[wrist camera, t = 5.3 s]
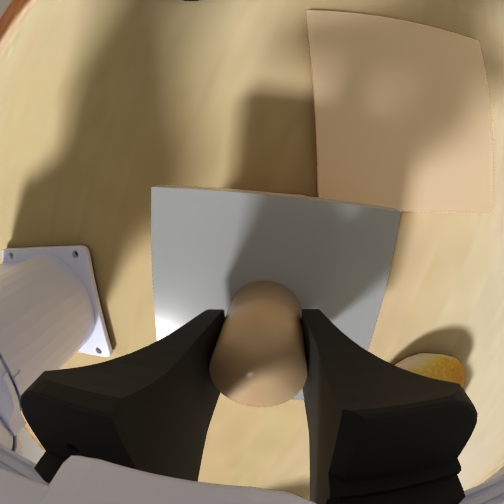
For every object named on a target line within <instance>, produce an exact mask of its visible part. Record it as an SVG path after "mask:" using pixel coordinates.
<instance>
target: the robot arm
mask: <svg viewBox="0 0 504 504" xmlns="http://www.w3.org/2000/svg"><path fill="white" fill-rule="evenodd" d="M75 252H77V253H78V256H77V255H76V253H75ZM1 256H2V261H3V263H2V264H0V504H504V474H503V475H501V476H499V477H497V478H495V479H492V480H490V481H488V482H486V483H483V484H481V485H478V486H476V487H473V488H471V489H468V490H466V491H463V488H462V485H461V483H460V480H459V478H458V475H457V474H459V472H460V471H461V465H460V463H459V461H458V459H457V458H458V456H459V455H460V453H461V451H462V450H463V448H464V447H465V445H466V443H467V442H468V440H469V438H470V436H471V435H472V432H473V430H474V428H475V425H476V423H477V411H476V409H475V407H474V405H473V403H472V402H471V400H470V399H469V397H468V396H467V394H466V393H465V391H464V389H463V388H462V387H461V385H460V384H459V383H454V382H448V381H443V380H438V379H433V378H429V377H426V376H422V375H419V374H416V373H413V372H410V371H407V370H404V369H402V368H399V367H397V366H395V365H393V364H390V363H388V362H386V361H384V360H382V359H380V358H378V357H377V356H375V355H373V354H372V353H370V352H368V351H367V350H365V349H363V348H362V347H361V346H359V345H358V344H356V343H355V342H354V341H353V340H351V339H350V338H349V337H347V336H346V335H345V334H344V333H343V332H342V331H340V330H339V329H338V328H337V327H336V326H335V325H334V324H333V323H332V322H331V321H330V320H329V319H328V318H327V317H326V316H325V315H324V314H323V313H322V312H321V311H320V310H319V309H302V317H301V318H302V329H303V337H304V344H305V352H306V364H307V378H306V382H305V384H304V386H303V388H302V389H303V396H304V402H305V408H306V414H307V421H308V428H309V443H310V500H308V499H305V498H303V497H300V496H298V495H295V494H293V493H291V492H287V491H278V490H270V489H263V488H257V487H246V486H232V485H222V484H212V483H204V482H198V476H199V470H200V465H201V459H202V454H203V449H204V444H205V439H206V435H207V431H208V427H209V424H210V421H211V418H212V415H213V412H214V409H215V406H216V403H217V400H218V397H219V395H220V391H219V390H218V389H217V388H216V386H215V385H214V383H213V381H212V379H211V376H210V370H209V366H210V361H211V358H212V355H213V352H214V349H215V346H216V343H217V340H218V337H219V334H220V331H221V328H222V325H223V322H224V319H225V312H224V310H222V309H207V310H205V311H204V312H202V313H201V314H199V315H198V316H196V317H195V318H193V319H192V320H190V321H189V322H187V323H186V324H184V325H183V326H181V327H180V328H178V329H177V330H175V331H173V332H172V333H170V334H168V335H167V336H165V337H163V338H162V339H160V340H158V341H156V342H155V343H153V344H151V345H149V346H147V347H144V348H142V349H140V350H138V351H135V352H133V353H130V354H127V355H124V356H121V357H118V358H115V359H112V360H109V361H106V362H102V363H98V364H94V365H89V366H84V367H78V368H70V369H61V368H62V367H63V366H64V365H65V364H66V363H67V362H68V361H69V360H70V359H71V358H72V357H73V356H74V355H75V354H76V352H80V353H86V354H91V355H97V356H103V357H109V356H110V355H111V354H112V347H111V344H110V340H109V337H108V333H107V329H106V325H105V321H104V318H103V314H102V309H101V305H100V301H99V296H98V292H97V287H96V283H95V278H94V273H93V267H92V262H91V256H90V252H89V249H88V248H87V247H86V246H84V245H76V246H50V247H26V248H6V249H3V250H2V252H1ZM99 348H100V349H101V350H100V349H99ZM60 369H61V370H60ZM21 411H22V412H23V415H24V417H25V419H26V420H27V422H28V424H29V426H30V427H31V429H32V430H33V432H34V434H35V435H36V437H37V438H38V440H39V441H40V443H41V444H42V446H43V447H44V449H45V450H46V452H45V453H44V455H43V456H42V458H41V459H40V460H39V462H38V463H37V464H35V463H33V462H32V461H30V460H28V459H26V458H24V457H22V443H21V440H20V438H19V436H18V433H19V432H20V430H21V429H22V428H23V427H24V426H25V424H26V422H25V420H24V418H23V417H22V415H21Z"/></svg>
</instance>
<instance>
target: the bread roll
mask: <svg viewBox="0 0 504 504" xmlns="http://www.w3.org/2000/svg"><path fill="white" fill-rule="evenodd" d="M395 366H397V367H399V368H402V369H404V370H407V371H410V372H413V373H416V374H419V375H422V376H426V377H429V378H433V379H438V380H443V381H448V382H454V383H459V384H460V385H461V387H462V388H463V387H464V383H465V370H464V367H463V365H462V364H461V362H460V361H459V360H458V359H456V358H454V357H452V356H447V355H442V354H432V353H419V354H416V355H413V356H410V357H407V358H405V359H403V360H402V361H400V362H398V363H397V364H395Z"/></svg>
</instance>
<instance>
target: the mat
mask: <svg viewBox="0 0 504 504" xmlns="http://www.w3.org/2000/svg"><path fill="white" fill-rule="evenodd" d="M306 21H307V30H308V39H309V49H310V59H311V70H312V83H313V96H314V112H315V130H316V153H317V190H318V197H319V198H327V199H335V200H343V201H350V202H358V203H365V204H372V205H379V206H385V207H392V208H395V209H397V210H399V211H408V212H444V213H470V214H490V215H493V200H494V139H493V124H492V113H491V104H490V96H489V88H488V82H487V76H486V70H485V65H484V60H483V55H482V50H481V46H480V42H479V41H478V40H476V39H473V38H470V37H467V36H464V35H460V34H457V33H454V32H450V31H447V30H443V29H440V28H436V27H432V26H428V25H424V24H419V23H415V22H410V21H405V20H400V19H394V18H388V17H382V16H375V15H368V14H359V13H350V12H338V11H321V10H306Z"/></svg>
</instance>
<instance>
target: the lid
mask: <svg viewBox="0 0 504 504" xmlns="http://www.w3.org/2000/svg"><path fill="white" fill-rule="evenodd" d="M400 217H401V211H399V210H397V209H395V208H392V207H385V206H379V205H372V204H365V203H358V202H350V201H343V200H335V199H327V198H319V197H311V196H302V195H292V194H283V193H273V192H262V191H251V190H239V189H226V188H212V187H197V186H179V185H156V186H153V187H151V250H152V277H153V295H154V310H155V322H156V334H157V341H158V340H160V339H162V338H163V337H165V336H167V335H168V334H170V333H172V332H173V331H175V330H177V329H178V328H180V327H181V326H183V325H184V324H186V323H187V322H189V321H190V320H192V319H193V318H195V317H196V316H198V315H199V314H201V313H202V312H204V311H205V310H207V309H222V310H224V312H225V319H224V322H223V325H222V328H221V331H220V334H219V337H218V340H217V343H216V346H215V349H214V352H213V355H212V358H211V361H210V366H209V370H210V376H211V379H212V381H213V383H214V385H215V386H216V388H217V389H218V390H219V391H220V392H221V393H222V394H223V395H225V396H226V397H227V398H229V399H231V400H233V401H235V402H237V403H240V404H243V405H247V406H252V407H269V406H275V405H279V404H282V403H284V402H286V401H288V400H290V399H294V400H304V396H303V389H302V388H303V386H304V384H305V382H306V378H307V364H306V352H305V344H304V337H303V329H302V318H301V317H302V309H319V310H320V311H321V312H322V313H323V314H324V315H325V316H326V317H327V318H328V319H329V320H330V321H331V322H332V323H333V324H334V325H335V326H336V327H337V328H338V329H339V330H340V331H342V332H343V333H344V334H345V335H346V336H347V337H349V338H350V339H351V340H353V341H354V342H355V343H356V344H358V345H359V346H361V347H362V348H363V349H365V350H367V351H368V348H369V345H370V342H371V338H372V335H373V332H374V329H375V325H376V322H377V318H378V315H379V311H380V308H381V304H382V300H383V296H384V292H385V288H386V284H387V280H388V276H389V272H390V267H391V263H392V258H393V254H394V249H395V244H396V239H397V234H398V229H399V223H400Z"/></svg>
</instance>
